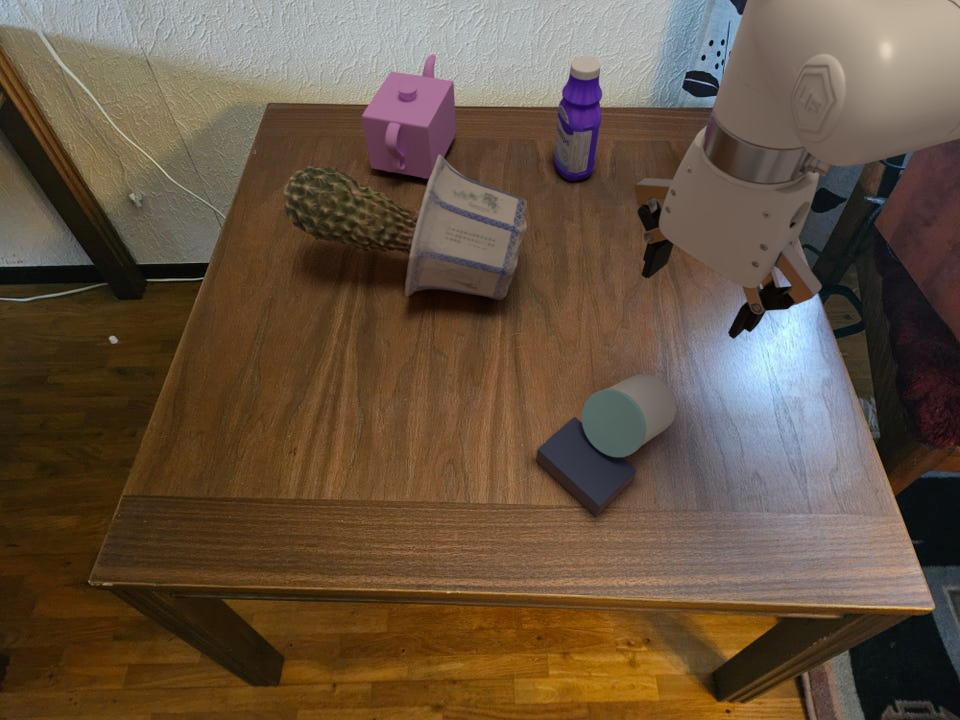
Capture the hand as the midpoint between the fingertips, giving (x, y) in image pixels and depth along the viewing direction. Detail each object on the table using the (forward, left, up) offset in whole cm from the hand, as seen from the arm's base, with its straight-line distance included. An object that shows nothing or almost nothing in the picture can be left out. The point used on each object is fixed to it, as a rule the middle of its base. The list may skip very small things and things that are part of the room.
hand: (695, 298), depth 58 cm
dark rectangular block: (0, +12, -20) cm, 23 cm away
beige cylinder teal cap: (0, +5, -20) cm, 21 cm away
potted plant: (+36, +6, -20) cm, 42 cm away
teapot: (+56, -11, -20) cm, 61 cm away
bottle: (+36, -26, -20) cm, 49 cm away
